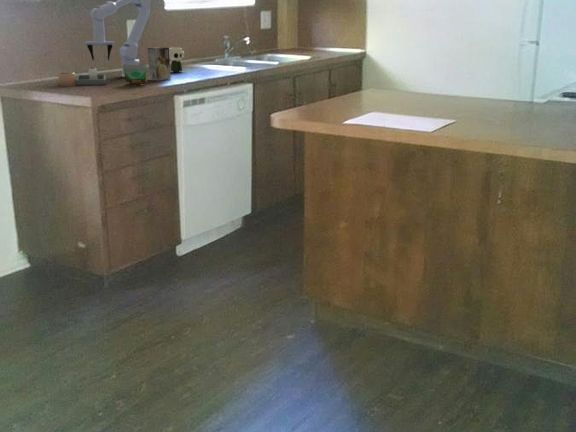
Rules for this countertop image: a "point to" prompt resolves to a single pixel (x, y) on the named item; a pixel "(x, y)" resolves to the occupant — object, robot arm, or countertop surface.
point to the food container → (135, 74)
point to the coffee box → (159, 63)
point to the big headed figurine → (176, 58)
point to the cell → (93, 73)
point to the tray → (85, 80)
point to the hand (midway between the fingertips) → (100, 59)
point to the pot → (67, 79)
